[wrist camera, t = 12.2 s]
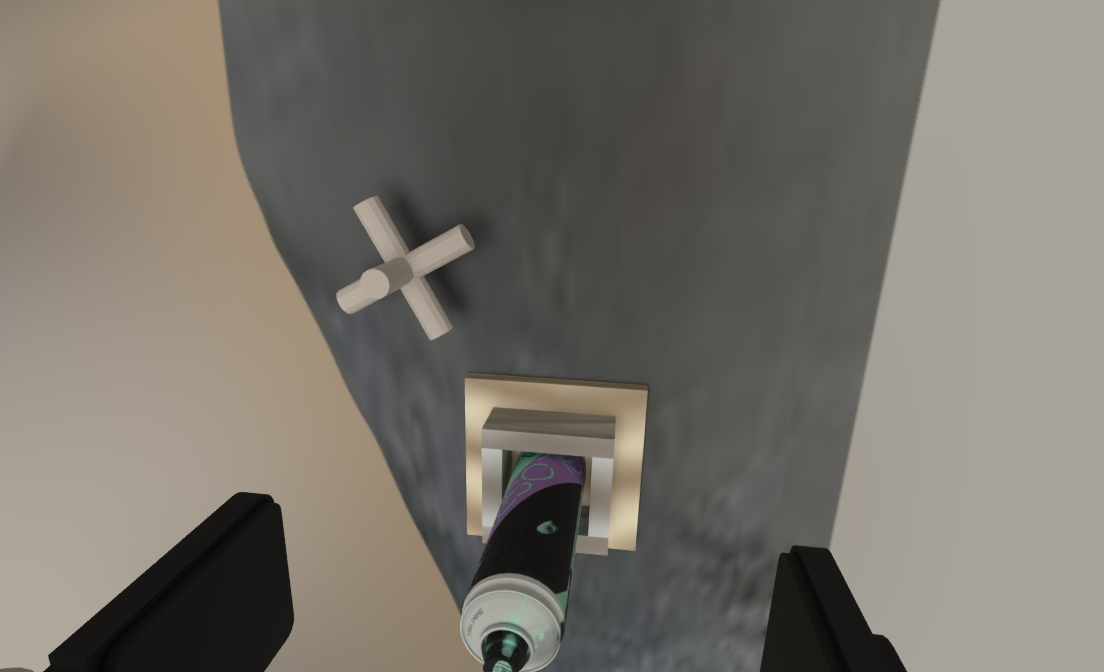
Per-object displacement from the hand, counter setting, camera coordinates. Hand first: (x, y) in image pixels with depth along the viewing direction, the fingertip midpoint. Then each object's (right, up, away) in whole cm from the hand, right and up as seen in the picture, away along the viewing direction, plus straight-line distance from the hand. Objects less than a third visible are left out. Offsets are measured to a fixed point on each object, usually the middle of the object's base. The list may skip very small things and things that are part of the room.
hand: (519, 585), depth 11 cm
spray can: (+1, -6, +36) cm, 37 cm away
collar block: (+1, -5, +37) cm, 38 cm away
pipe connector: (-9, +11, +34) cm, 37 cm away
